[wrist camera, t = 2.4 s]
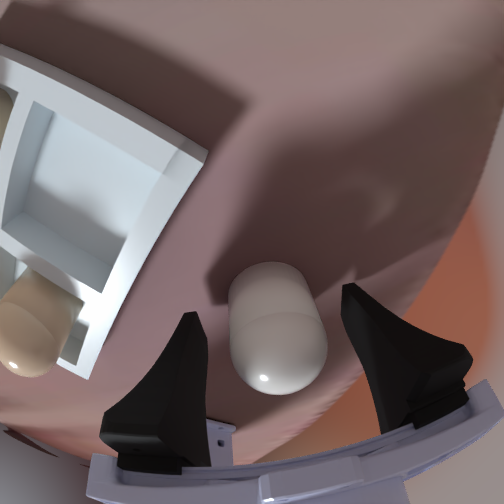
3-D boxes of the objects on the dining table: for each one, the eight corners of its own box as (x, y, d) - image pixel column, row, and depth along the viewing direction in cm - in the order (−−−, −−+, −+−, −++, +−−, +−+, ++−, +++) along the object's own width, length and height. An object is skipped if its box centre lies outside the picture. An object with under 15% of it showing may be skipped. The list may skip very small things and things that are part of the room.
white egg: (323, 284, 15) (360, 369, 10) (274, 332, 16) (290, 417, 11) (260, 246, 13) (280, 339, 8) (212, 304, 15) (211, 397, 10)
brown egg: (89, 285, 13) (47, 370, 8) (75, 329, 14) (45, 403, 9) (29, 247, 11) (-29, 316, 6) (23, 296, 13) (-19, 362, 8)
